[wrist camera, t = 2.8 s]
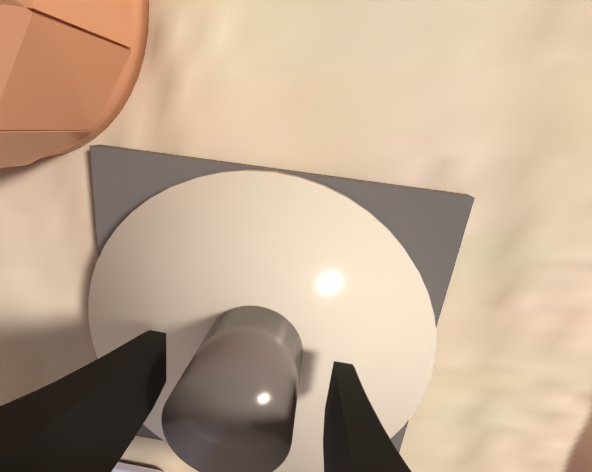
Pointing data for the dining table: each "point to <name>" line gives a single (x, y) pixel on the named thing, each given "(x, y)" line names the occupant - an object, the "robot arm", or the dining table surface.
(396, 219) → the mat
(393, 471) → the robot arm
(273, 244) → the lid
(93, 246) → the dining table surface
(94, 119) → the bowl
